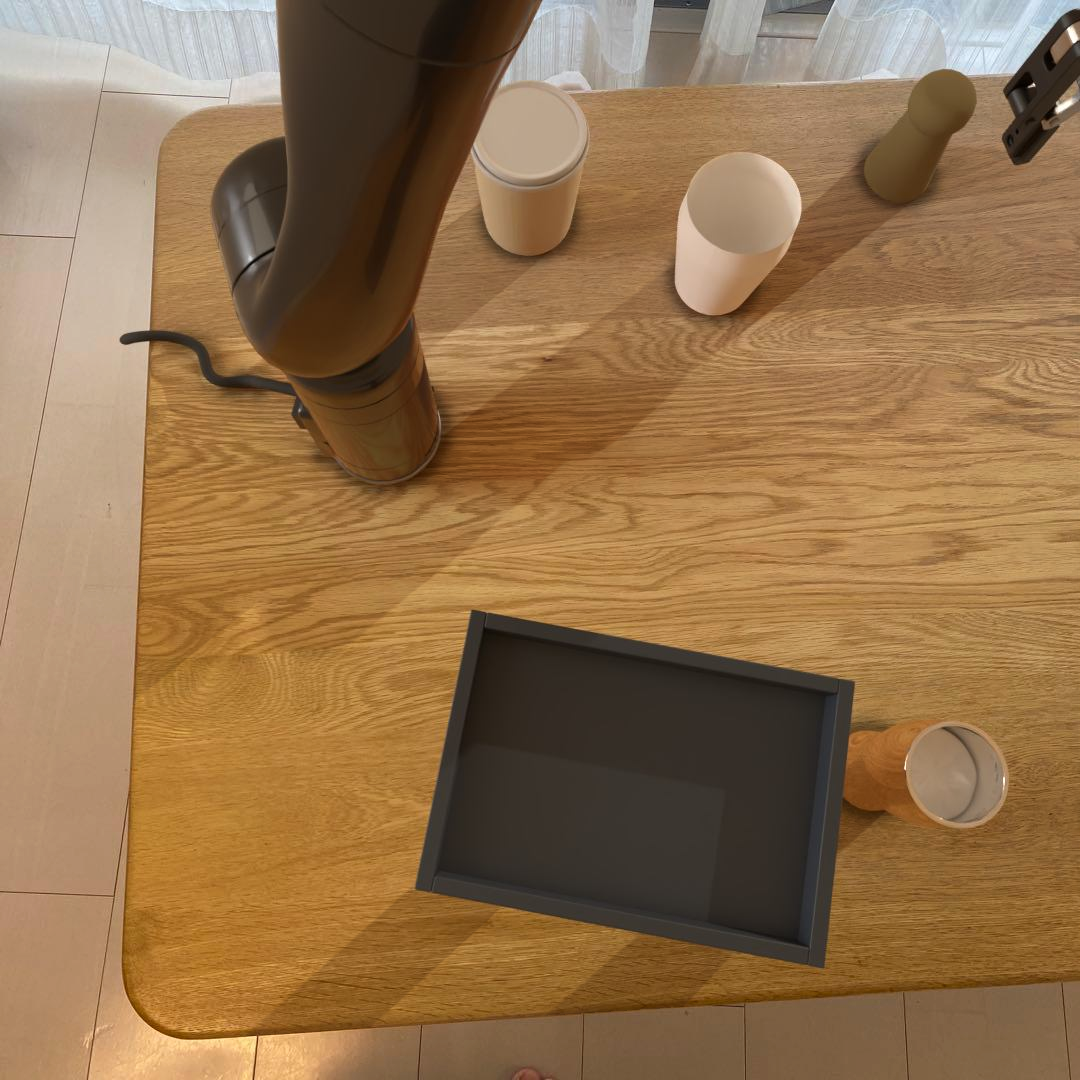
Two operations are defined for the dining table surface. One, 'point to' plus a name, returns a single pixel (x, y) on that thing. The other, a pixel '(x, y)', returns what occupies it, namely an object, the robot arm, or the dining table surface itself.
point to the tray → (641, 788)
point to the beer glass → (927, 773)
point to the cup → (733, 230)
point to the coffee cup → (530, 165)
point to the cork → (920, 136)
